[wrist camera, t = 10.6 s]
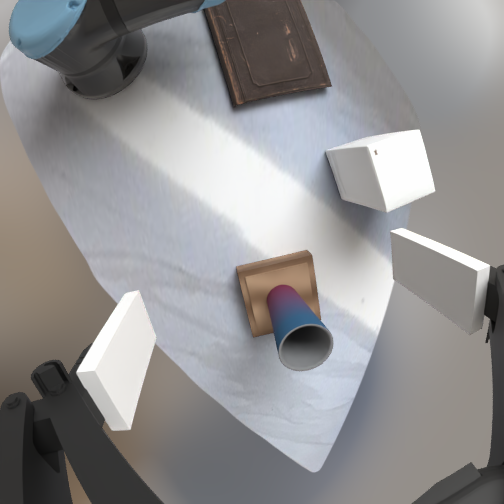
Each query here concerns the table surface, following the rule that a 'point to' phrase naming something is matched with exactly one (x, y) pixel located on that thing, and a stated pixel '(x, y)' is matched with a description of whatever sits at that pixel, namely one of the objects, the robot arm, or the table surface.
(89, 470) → the robot arm
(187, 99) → the table surface
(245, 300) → the pedestal
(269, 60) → the hardcover book
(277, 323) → the cup
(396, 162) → the supplement box
